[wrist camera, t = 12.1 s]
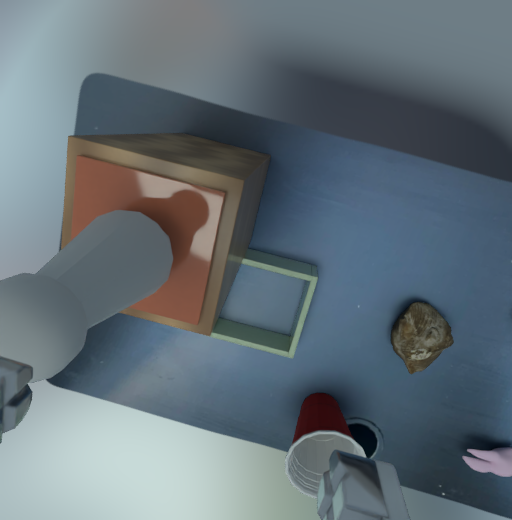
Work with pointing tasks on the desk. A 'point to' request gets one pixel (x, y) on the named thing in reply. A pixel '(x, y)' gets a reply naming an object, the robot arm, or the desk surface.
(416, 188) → the desk surface
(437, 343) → the fossilized seashell
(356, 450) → the plastic cup
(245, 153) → the block
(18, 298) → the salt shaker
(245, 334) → the holder
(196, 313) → the coaster
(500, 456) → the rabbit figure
